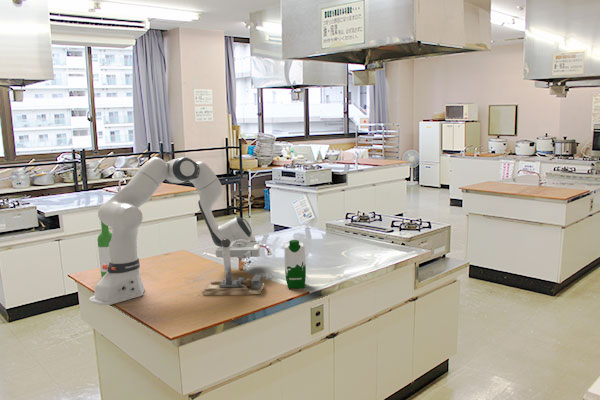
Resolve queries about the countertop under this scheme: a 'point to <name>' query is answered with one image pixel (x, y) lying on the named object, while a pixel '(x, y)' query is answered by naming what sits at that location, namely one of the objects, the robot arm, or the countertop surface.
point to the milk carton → (295, 264)
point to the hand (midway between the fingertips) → (234, 256)
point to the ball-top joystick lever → (229, 268)
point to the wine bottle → (104, 247)
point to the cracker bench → (248, 288)
